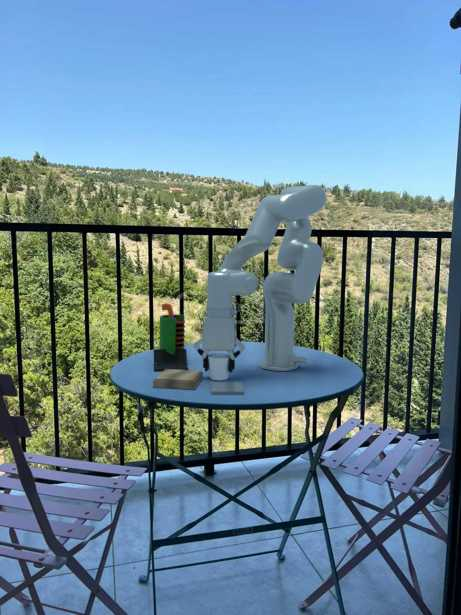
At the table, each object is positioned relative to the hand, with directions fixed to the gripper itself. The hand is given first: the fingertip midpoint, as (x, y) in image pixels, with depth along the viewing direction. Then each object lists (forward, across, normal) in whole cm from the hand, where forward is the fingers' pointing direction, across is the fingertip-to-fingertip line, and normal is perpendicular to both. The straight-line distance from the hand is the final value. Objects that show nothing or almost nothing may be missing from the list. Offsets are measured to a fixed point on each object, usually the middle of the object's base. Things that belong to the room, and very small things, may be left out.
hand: (218, 370), depth 156 cm
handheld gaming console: (+3, +18, -10) cm, 20 cm away
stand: (+2, +11, +7) cm, 13 cm away
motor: (+3, +19, -18) cm, 27 cm away
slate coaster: (+2, -4, +11) cm, 12 cm away
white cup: (+3, 0, 0) cm, 3 cm away
